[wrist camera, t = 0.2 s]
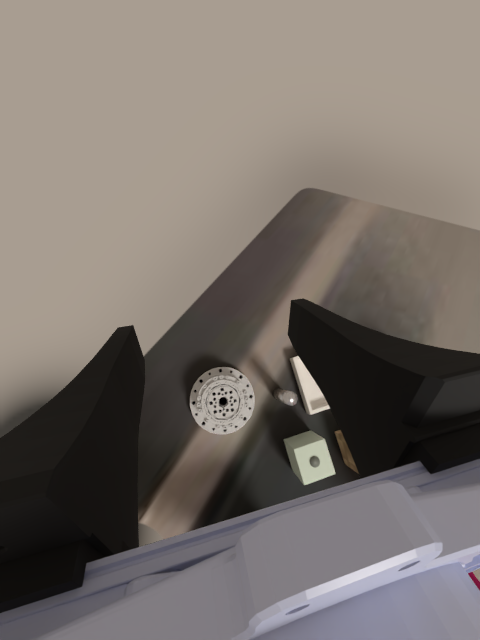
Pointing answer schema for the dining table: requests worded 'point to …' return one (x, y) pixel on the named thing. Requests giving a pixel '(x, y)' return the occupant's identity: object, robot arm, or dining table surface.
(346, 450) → the wooden square holder
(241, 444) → the dining table surface
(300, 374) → the tray
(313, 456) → the green block
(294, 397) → the pin
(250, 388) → the mechanical component
